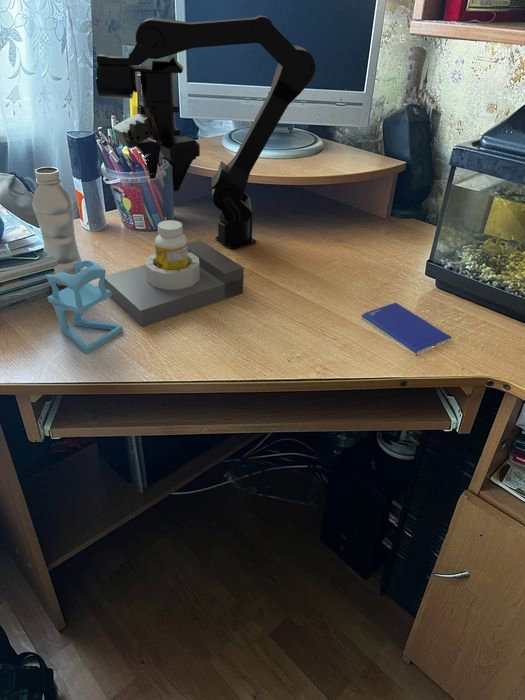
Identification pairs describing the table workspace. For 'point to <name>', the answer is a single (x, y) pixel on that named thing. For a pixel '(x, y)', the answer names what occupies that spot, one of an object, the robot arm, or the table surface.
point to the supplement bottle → (171, 246)
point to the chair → (81, 301)
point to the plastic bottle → (56, 220)
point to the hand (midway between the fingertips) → (163, 184)
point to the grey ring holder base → (176, 285)
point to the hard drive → (405, 328)
